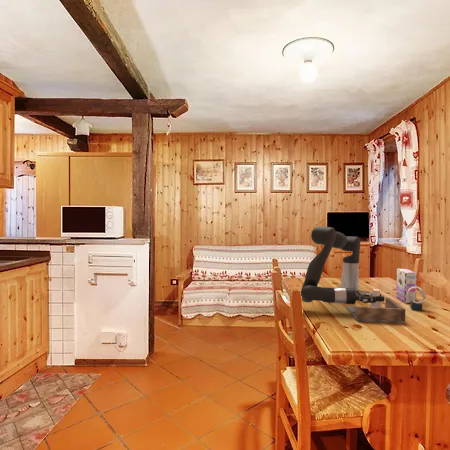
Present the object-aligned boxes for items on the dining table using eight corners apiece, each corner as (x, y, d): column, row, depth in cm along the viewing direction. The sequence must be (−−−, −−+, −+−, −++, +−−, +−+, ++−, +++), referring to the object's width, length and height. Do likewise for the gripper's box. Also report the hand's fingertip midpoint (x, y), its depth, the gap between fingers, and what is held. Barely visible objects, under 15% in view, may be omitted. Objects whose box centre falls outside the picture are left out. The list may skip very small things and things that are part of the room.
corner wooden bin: (356, 321, 139) (357, 307, 139) (346, 308, 159) (346, 296, 158) (405, 323, 136) (405, 309, 136) (388, 309, 156) (388, 297, 155)
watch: (426, 311, 153) (427, 288, 153) (407, 309, 156) (408, 287, 156) (424, 308, 158) (425, 286, 158) (406, 306, 161) (406, 285, 161)
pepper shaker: (369, 308, 150) (370, 288, 150) (378, 309, 150) (379, 289, 149) (372, 311, 146) (373, 290, 146) (381, 311, 146) (382, 291, 145)
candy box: (416, 304, 166) (417, 272, 165) (404, 303, 167) (405, 272, 167) (407, 297, 179) (407, 268, 179) (395, 296, 181) (396, 268, 180)
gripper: (347, 291, 143) (388, 293, 140) (340, 284, 157) (377, 286, 154) (347, 308, 143) (387, 310, 140) (340, 299, 157) (377, 301, 154)
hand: (382, 297), depth 147 cm, fingers closed on pepper shaker, 4 cm apart
